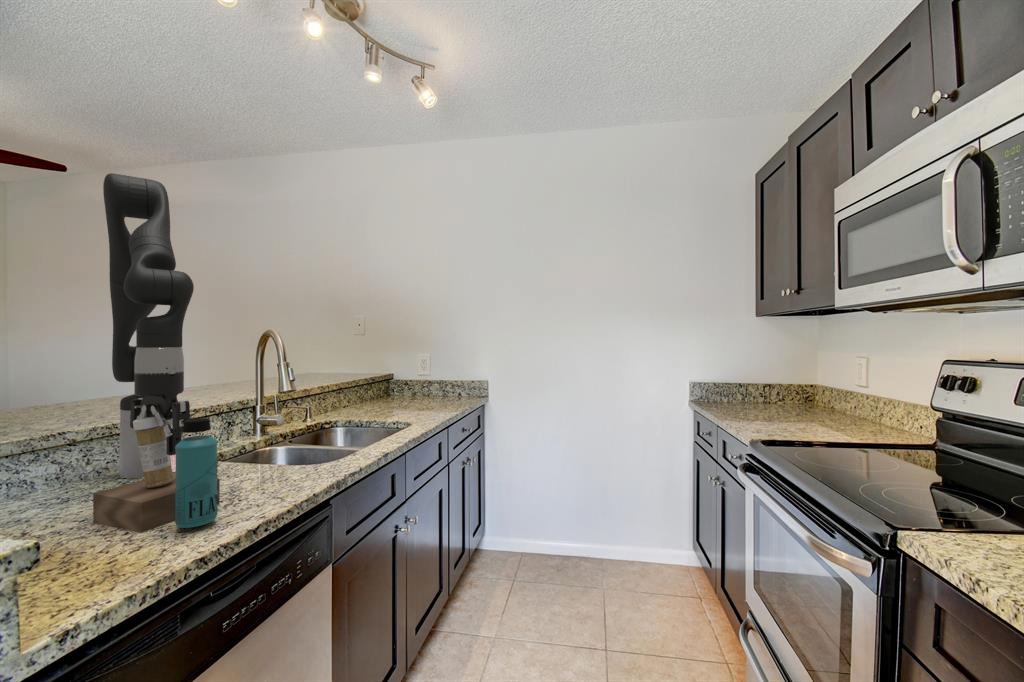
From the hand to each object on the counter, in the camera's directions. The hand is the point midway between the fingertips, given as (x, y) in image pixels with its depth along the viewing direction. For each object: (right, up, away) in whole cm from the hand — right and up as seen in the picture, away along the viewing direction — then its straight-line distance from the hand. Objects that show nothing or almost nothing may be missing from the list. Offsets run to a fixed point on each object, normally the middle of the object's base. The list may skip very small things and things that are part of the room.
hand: (159, 452), depth 84 cm
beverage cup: (-12, -12, +15) cm, 23 cm away
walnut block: (0, -13, 0) cm, 13 cm away
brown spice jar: (0, -7, 0) cm, 7 cm away
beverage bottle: (+12, -12, -7) cm, 19 cm away
